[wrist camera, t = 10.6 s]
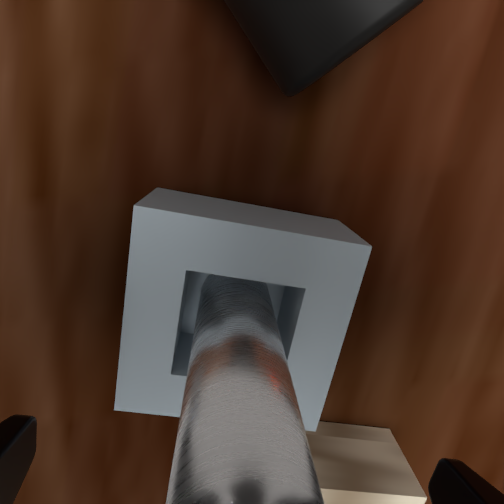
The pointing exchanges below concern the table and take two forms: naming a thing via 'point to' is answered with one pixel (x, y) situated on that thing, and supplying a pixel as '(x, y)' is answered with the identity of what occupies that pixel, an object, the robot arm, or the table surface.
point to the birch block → (362, 466)
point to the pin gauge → (240, 407)
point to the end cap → (312, 33)
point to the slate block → (238, 266)
